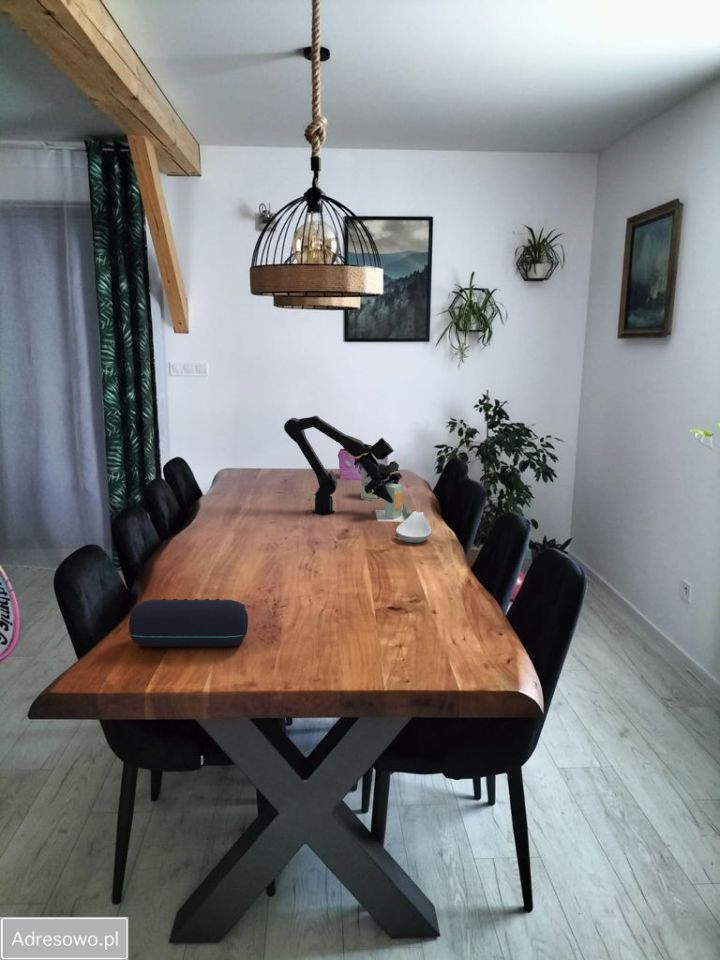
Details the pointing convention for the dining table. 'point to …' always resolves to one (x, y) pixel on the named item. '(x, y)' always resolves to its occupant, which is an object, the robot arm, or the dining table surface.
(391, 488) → the green carton
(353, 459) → the pink printed box
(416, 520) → the spoon rest
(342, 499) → the dining table surface
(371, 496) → the coffee can
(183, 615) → the portable speaker
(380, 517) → the white plate with rail
